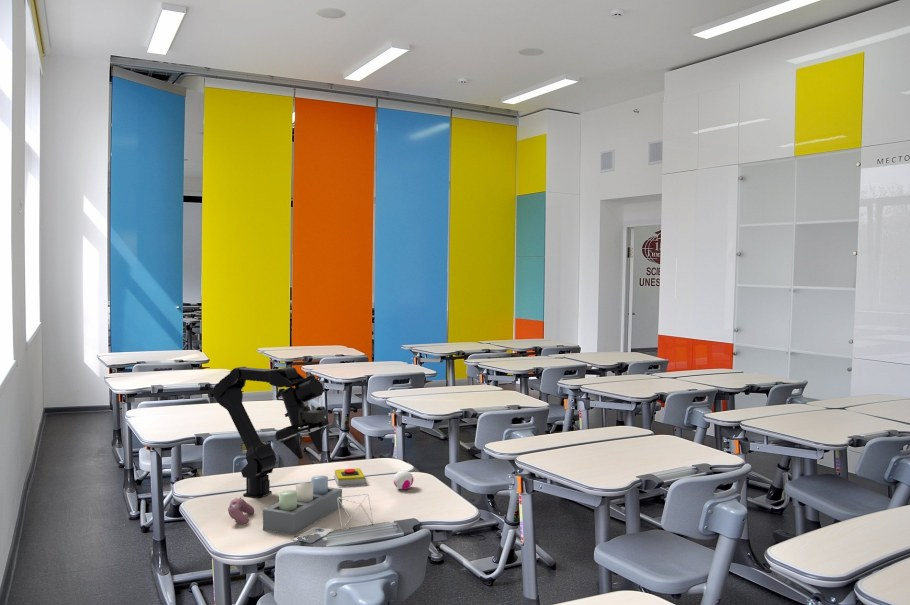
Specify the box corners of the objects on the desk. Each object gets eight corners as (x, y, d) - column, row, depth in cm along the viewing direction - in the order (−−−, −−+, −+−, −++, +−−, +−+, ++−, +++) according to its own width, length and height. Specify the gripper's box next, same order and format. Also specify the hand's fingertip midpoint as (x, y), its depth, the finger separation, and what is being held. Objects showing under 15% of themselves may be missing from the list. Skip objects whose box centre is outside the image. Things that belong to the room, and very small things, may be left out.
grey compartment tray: (262, 529, 188) (262, 509, 188) (313, 503, 212) (313, 485, 211) (294, 534, 185) (294, 514, 184) (341, 507, 208) (342, 489, 208)
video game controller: (242, 519, 201) (231, 497, 201) (256, 511, 202) (245, 490, 201) (234, 531, 191) (222, 509, 191) (249, 523, 192) (237, 501, 191)
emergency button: (338, 476, 228) (333, 464, 242) (338, 489, 228) (333, 477, 242) (366, 474, 230) (359, 462, 245) (366, 487, 230) (359, 475, 245)
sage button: (275, 513, 189) (275, 494, 189) (285, 508, 194) (285, 489, 193) (290, 515, 187) (290, 496, 187) (300, 510, 192) (300, 491, 192)
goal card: (292, 540, 181) (292, 538, 181) (313, 528, 190) (313, 525, 190) (312, 543, 178) (312, 541, 178) (332, 531, 188) (332, 528, 188)
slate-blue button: (308, 496, 204) (308, 479, 204) (317, 492, 209) (317, 474, 208) (322, 498, 202) (322, 480, 202) (330, 494, 207) (330, 476, 207)
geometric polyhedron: (334, 521, 196) (334, 494, 196) (365, 516, 200) (365, 490, 200) (344, 533, 187) (344, 505, 186) (376, 528, 190) (376, 501, 190)
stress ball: (401, 502, 224) (410, 487, 221) (385, 485, 227) (393, 470, 225) (415, 495, 230) (424, 481, 228) (399, 478, 233) (408, 464, 231)
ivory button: (292, 504, 197) (292, 486, 196) (302, 499, 201) (302, 481, 201) (306, 506, 195) (307, 488, 195) (316, 501, 199) (316, 483, 199)
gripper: (294, 402, 200) (311, 454, 198) (333, 394, 217) (349, 441, 214) (267, 414, 205) (283, 465, 202) (307, 405, 222) (323, 452, 219)
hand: (311, 455), depth 209 cm, fingers open, 9 cm apart
